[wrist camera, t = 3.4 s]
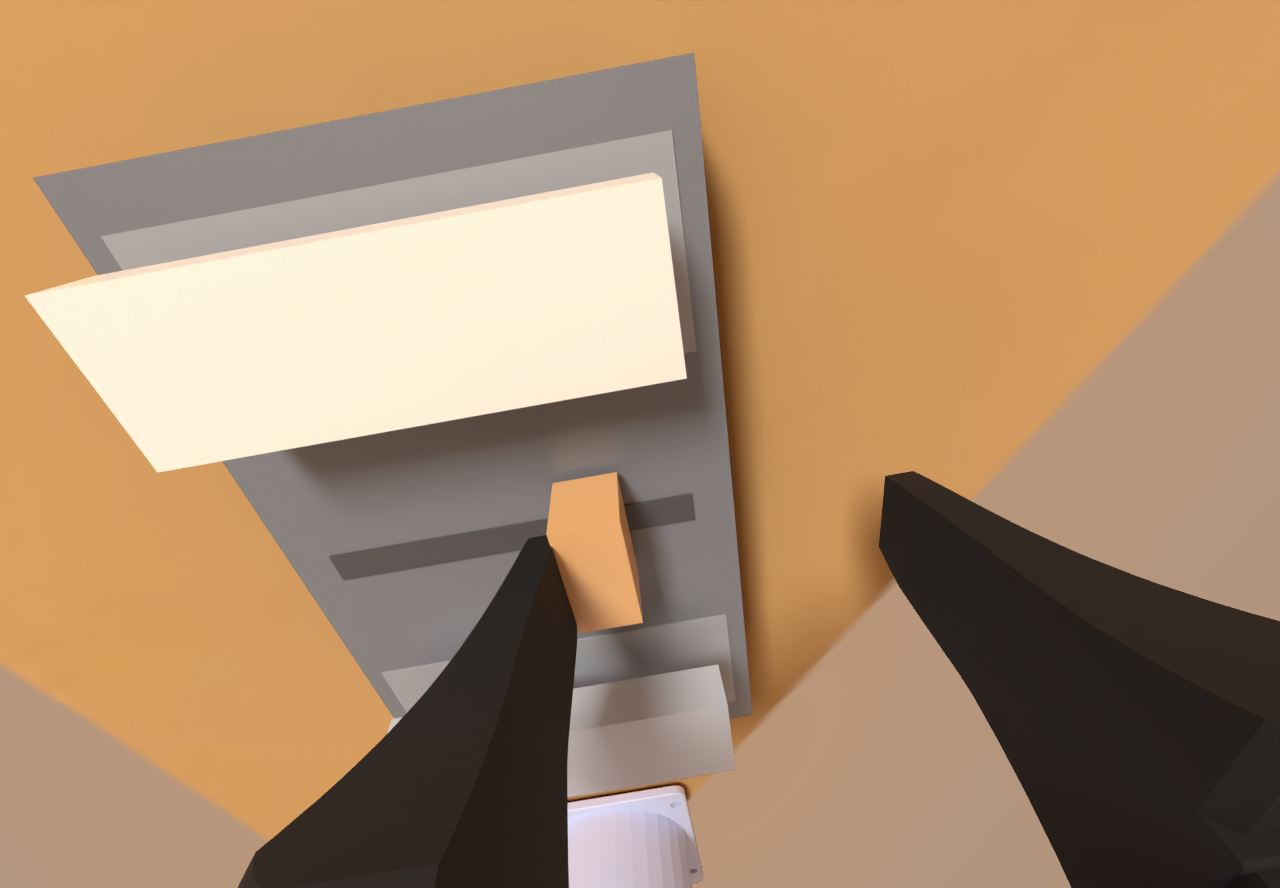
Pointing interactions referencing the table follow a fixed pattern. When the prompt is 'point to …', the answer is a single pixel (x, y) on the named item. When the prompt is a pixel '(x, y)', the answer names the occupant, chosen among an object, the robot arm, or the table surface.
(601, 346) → the cream bar
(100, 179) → the panel
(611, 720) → the grey bar
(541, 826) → the robot arm
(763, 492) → the table surface
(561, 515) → the orange rectangular block
